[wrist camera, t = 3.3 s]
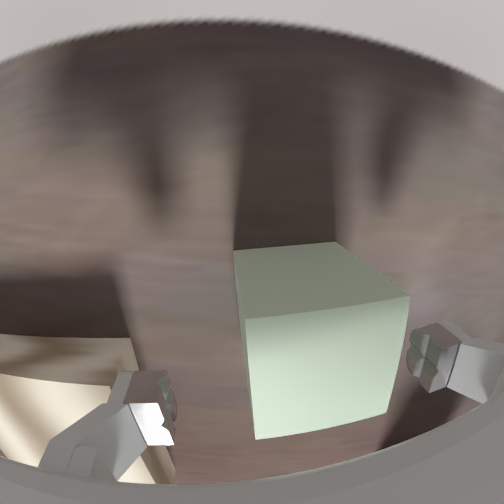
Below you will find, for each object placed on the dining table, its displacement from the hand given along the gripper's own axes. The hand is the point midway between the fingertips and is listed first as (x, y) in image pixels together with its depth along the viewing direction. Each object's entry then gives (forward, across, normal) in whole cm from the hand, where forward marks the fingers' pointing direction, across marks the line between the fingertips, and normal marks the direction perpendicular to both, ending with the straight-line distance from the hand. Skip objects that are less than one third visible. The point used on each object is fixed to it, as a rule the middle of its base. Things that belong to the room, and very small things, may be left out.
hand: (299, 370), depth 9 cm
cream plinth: (+5, +12, +6) cm, 15 cm away
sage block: (+5, -1, 0) cm, 5 cm away
